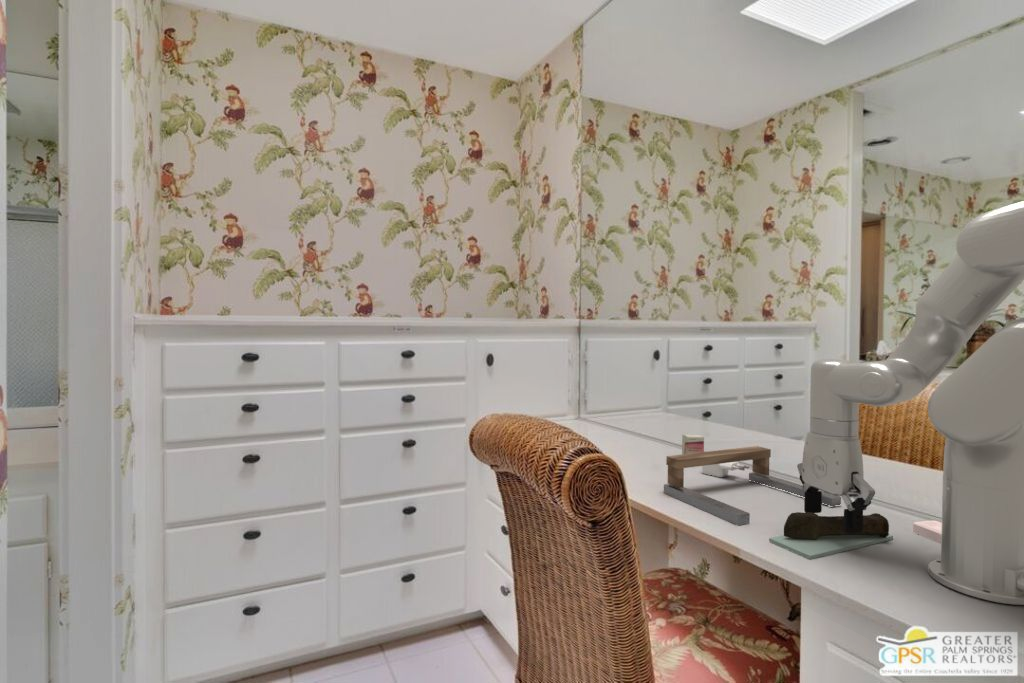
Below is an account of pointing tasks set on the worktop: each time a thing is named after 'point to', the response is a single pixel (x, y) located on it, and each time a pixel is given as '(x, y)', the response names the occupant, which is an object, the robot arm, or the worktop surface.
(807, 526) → the dark brown rough bar
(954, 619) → the worktop surface
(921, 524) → the soap bar
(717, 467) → the power adapter
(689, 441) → the small box
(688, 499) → the rails
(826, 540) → the mat
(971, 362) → the robot arm
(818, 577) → the worktop surface
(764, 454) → the wooden bridge block
